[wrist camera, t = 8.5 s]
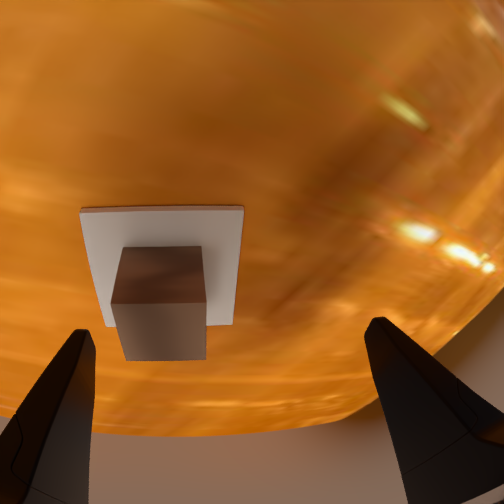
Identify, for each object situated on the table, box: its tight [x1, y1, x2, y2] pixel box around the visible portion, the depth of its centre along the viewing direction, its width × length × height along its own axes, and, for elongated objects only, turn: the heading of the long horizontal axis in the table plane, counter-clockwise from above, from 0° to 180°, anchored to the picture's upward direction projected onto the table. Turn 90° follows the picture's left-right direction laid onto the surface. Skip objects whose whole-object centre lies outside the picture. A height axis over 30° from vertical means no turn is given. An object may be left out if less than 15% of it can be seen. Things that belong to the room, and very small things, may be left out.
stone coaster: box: [79, 206, 244, 327], centre depth 21 cm, size 10×10×1 cm
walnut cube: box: [110, 246, 207, 361], centre depth 19 cm, size 5×5×5 cm
